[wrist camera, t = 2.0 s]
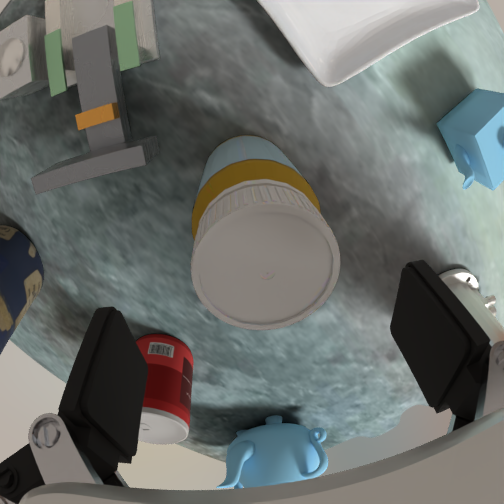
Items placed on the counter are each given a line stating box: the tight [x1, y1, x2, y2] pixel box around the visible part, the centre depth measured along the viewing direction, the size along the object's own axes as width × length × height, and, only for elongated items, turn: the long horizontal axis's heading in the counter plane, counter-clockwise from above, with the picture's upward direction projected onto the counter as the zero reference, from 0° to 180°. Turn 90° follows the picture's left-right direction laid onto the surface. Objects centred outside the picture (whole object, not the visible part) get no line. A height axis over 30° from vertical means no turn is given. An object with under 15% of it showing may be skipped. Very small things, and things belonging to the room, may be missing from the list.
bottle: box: [191, 135, 340, 330], centre depth 19 cm, size 7×7×15 cm
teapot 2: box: [436, 89, 504, 190], centre depth 21 cm, size 12×6×8 cm, turn 133°
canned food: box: [136, 334, 193, 444], centre depth 30 cm, size 8×8×11 cm
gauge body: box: [0, 0, 160, 100], centre depth 15 cm, size 13×11×5 cm
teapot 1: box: [217, 415, 328, 489], centre depth 41 cm, size 16×20×14 cm
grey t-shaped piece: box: [31, 25, 160, 194], centre depth 17 cm, size 8×11×7 cm
